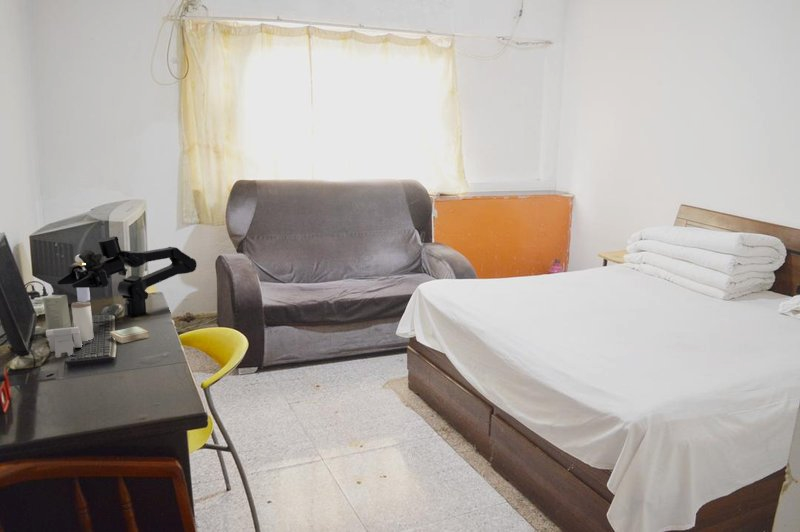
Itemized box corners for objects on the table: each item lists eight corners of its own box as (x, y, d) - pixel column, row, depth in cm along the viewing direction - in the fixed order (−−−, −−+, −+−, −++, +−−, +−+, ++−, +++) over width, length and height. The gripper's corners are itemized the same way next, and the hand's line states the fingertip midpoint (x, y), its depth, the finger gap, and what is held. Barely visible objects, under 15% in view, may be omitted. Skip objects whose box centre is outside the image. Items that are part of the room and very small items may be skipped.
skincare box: (71, 328, 208) (68, 294, 205) (63, 332, 203) (59, 297, 201) (54, 327, 208) (51, 294, 206) (46, 331, 204) (42, 297, 202)
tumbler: (90, 338, 196) (86, 300, 194) (97, 341, 193) (93, 303, 190) (72, 342, 192) (68, 303, 190) (79, 345, 189) (74, 306, 186)
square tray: (137, 331, 203) (137, 325, 203) (149, 337, 197) (148, 330, 197) (110, 337, 197) (109, 331, 196) (121, 343, 191) (121, 336, 190)
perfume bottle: (95, 301, 246) (90, 253, 243) (83, 304, 241) (78, 255, 237) (85, 299, 249) (80, 252, 245) (73, 302, 243) (68, 255, 240)
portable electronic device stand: (82, 347, 187) (80, 322, 186) (80, 355, 180) (77, 328, 179) (51, 351, 184) (48, 325, 182) (48, 358, 177) (44, 332, 175)
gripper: (85, 245, 215) (43, 260, 203) (115, 249, 205) (73, 265, 193) (94, 273, 219) (53, 289, 207) (124, 279, 209) (83, 296, 197)
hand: (65, 284), depth 201 cm, fingers open, 9 cm apart
